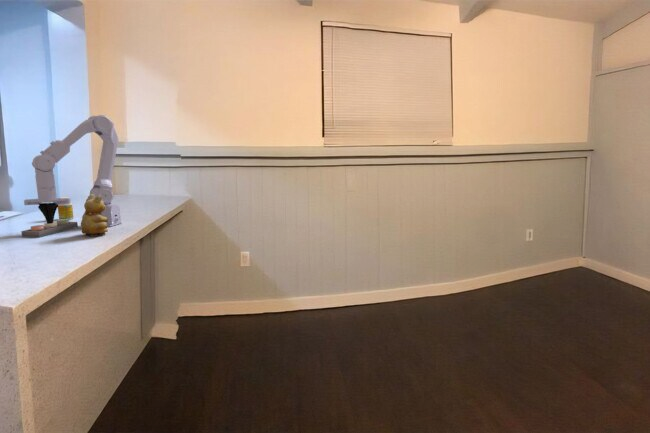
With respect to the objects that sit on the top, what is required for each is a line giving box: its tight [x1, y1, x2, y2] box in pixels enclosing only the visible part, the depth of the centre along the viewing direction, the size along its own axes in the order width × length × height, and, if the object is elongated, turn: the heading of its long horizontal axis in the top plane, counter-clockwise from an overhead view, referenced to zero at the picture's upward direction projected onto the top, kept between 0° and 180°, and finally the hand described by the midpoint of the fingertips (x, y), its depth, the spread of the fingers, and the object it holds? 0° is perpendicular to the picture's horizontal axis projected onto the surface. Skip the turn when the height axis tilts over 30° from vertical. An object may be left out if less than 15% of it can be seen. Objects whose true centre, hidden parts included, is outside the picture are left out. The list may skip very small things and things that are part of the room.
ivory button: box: [43, 221, 57, 228], centre depth 151 cm, size 4×4×2 cm
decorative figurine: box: [80, 194, 109, 237], centre depth 144 cm, size 10×8×15 cm
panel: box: [20, 221, 79, 238], centre depth 151 cm, size 7×19×2 cm, turn 173°
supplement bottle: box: [57, 196, 74, 221], centre depth 174 cm, size 5×5×10 cm
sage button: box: [56, 219, 70, 225], centre depth 156 cm, size 4×4×2 cm
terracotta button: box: [30, 224, 44, 231], centre depth 145 cm, size 4×4×2 cm
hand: (50, 223), depth 150 cm, fingers closed, pressing on ivory button
